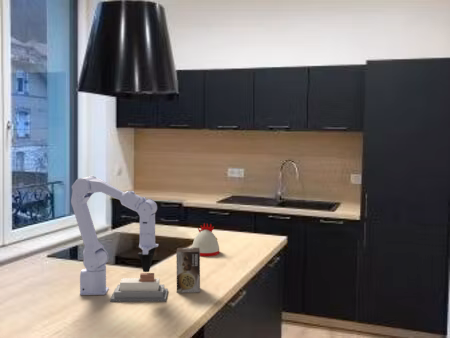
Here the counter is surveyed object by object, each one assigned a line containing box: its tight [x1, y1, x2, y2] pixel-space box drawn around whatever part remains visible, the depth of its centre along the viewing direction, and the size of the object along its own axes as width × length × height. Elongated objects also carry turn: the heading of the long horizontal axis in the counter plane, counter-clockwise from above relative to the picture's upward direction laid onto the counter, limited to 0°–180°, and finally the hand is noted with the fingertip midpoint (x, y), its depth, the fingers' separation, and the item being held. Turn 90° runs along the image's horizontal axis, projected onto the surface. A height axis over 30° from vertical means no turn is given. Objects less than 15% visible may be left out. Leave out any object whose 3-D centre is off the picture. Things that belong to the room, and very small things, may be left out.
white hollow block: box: [119, 277, 160, 291], centre depth 199 cm, size 6×14×5 cm, turn 92°
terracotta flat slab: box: [139, 272, 155, 282], centre depth 199 cm, size 2×5×6 cm, turn 93°
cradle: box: [109, 284, 169, 303], centre depth 199 cm, size 20×12×3 cm, turn 93°
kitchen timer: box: [191, 222, 220, 257], centre depth 265 cm, size 14×14×15 cm
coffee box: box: [175, 247, 201, 294], centre depth 206 cm, size 9×6×16 cm
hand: (147, 268), depth 198 cm, fingers open, 7 cm apart
